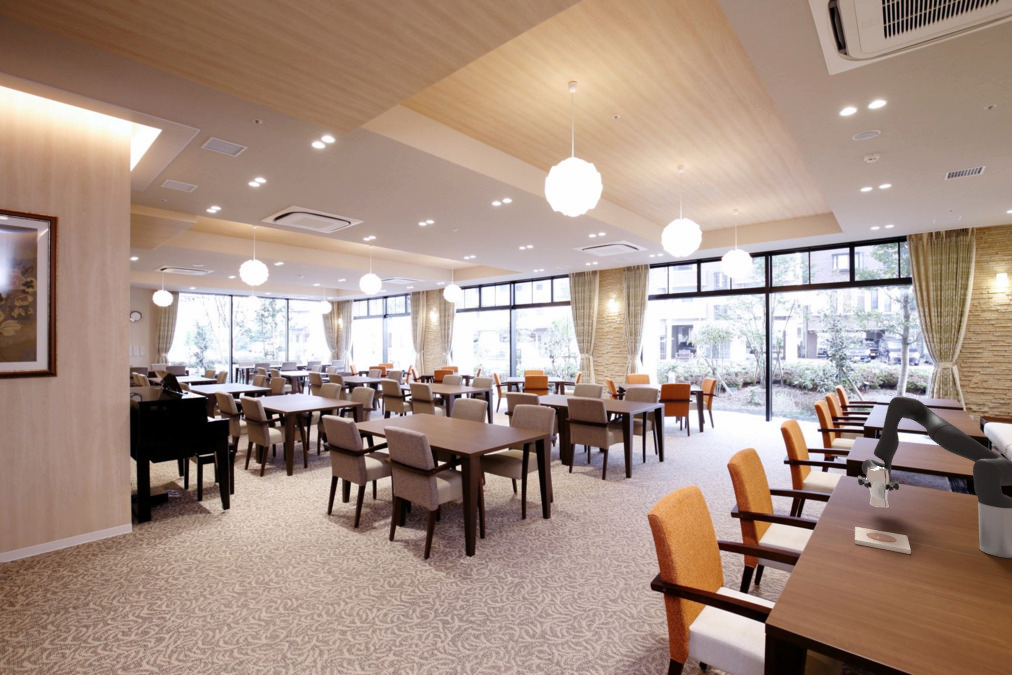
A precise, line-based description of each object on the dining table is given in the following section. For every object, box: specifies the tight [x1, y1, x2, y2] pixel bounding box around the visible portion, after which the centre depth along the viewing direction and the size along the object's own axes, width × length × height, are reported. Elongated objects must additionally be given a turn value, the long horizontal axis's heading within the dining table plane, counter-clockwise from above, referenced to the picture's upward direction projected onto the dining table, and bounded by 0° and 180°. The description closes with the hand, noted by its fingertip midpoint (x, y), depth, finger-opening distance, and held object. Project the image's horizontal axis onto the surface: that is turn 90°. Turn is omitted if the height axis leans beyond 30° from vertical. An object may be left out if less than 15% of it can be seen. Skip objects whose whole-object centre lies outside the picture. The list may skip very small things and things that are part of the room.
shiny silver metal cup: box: [866, 466, 890, 509], centre depth 192 cm, size 7×7×15 cm
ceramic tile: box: [854, 526, 912, 555], centre depth 179 cm, size 16×16×2 cm
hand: (878, 487), depth 190 cm, fingers closed on shiny silver metal cup, 6 cm apart
